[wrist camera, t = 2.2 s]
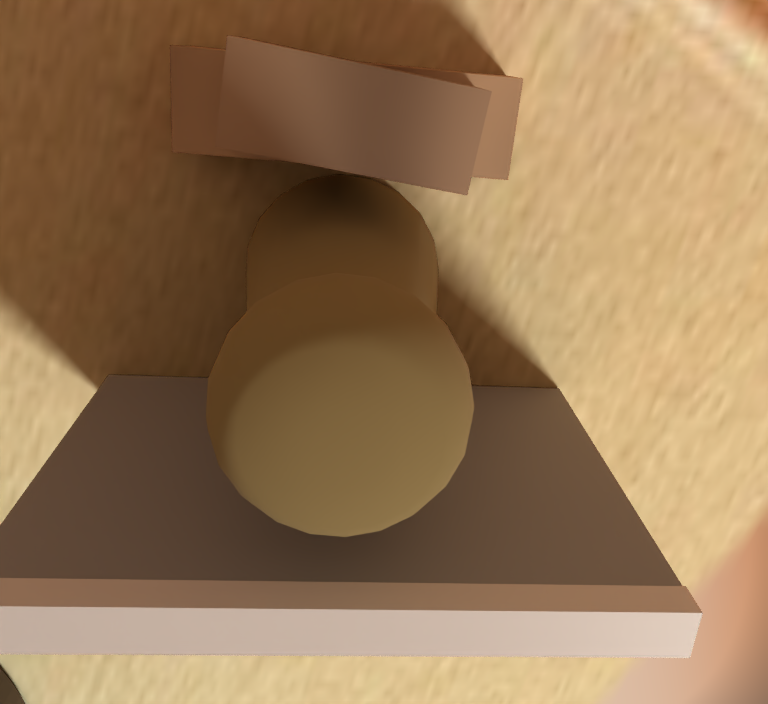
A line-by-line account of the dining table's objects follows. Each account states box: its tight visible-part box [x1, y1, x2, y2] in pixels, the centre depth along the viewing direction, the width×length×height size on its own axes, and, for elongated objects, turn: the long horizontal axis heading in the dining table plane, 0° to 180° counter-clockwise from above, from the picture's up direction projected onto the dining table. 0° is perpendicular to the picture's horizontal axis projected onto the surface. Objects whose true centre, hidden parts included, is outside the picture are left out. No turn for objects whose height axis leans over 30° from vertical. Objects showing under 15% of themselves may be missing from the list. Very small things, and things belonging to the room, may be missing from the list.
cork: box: [206, 174, 474, 537], centre depth 18 cm, size 6×6×11 cm
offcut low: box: [170, 45, 523, 180], centre depth 20 cm, size 9×3×2 cm, turn 85°
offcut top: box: [215, 35, 492, 195], centre depth 18 cm, size 6×2×2 cm, turn 78°
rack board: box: [0, 375, 703, 658], centre depth 20 cm, size 15×1×11 cm, turn 86°
